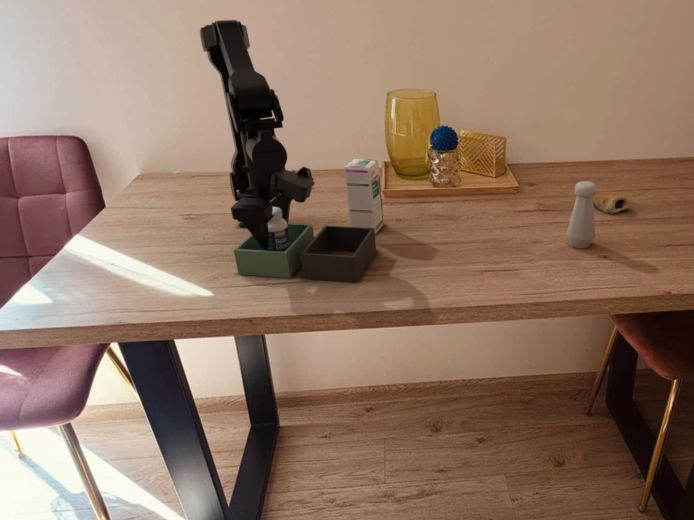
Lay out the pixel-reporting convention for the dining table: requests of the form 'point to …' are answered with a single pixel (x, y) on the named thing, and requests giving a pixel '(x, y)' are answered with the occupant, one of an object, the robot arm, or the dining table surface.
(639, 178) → the dining table surface
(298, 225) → the green bin
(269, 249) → the pill bottle
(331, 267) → the charcoal crate
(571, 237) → the salt shaker
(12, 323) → the dining table surface
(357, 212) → the syrup box
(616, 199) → the pastry
